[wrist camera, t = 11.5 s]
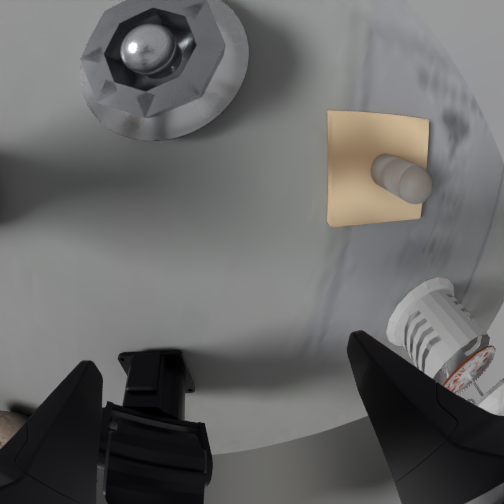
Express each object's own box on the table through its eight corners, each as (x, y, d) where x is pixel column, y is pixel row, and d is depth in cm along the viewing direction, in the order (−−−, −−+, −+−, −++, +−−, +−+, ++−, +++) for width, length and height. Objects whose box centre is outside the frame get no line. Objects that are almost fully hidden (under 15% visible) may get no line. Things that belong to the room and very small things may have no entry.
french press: (458, 262, 24) (598, 431, 3) (447, 331, 30) (537, 473, 8) (384, 300, 25) (514, 526, 3) (386, 365, 31) (465, 531, 9)
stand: (413, 214, 21) (456, 245, 16) (327, 222, 20) (361, 261, 15) (420, 118, 17) (473, 129, 12) (327, 110, 16) (370, 114, 12)
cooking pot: (66, 411, 29) (50, 482, 19) (103, 457, 38) (97, 510, 27) (-37, 375, 25) (-58, 424, 15) (8, 428, 34) (-4, 471, 23)
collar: (187, 127, 15) (182, 131, 12) (89, 95, 13) (66, 94, 10) (239, 29, 12) (244, 14, 10) (136, -1, 10) (123, -19, 8)
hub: (251, 127, 17) (268, 135, 12) (99, 152, 16) (57, 172, 11) (240, -13, 12) (251, -55, 7) (88, 17, 11) (46, -7, 6)
